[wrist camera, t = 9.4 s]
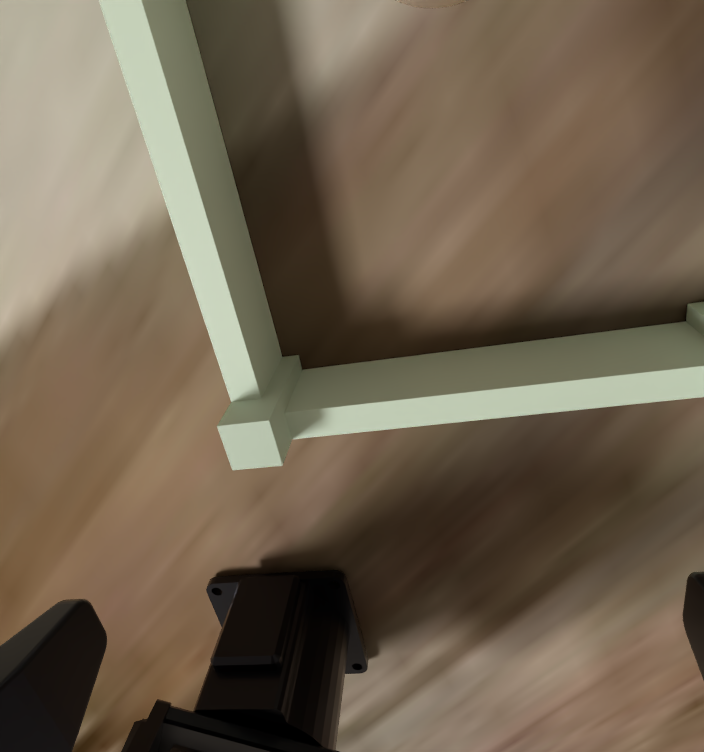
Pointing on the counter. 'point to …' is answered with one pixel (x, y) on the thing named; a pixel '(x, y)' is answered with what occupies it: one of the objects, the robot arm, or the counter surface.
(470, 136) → the counter surface
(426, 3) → the pot
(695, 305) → the cold frame
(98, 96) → the counter surface
